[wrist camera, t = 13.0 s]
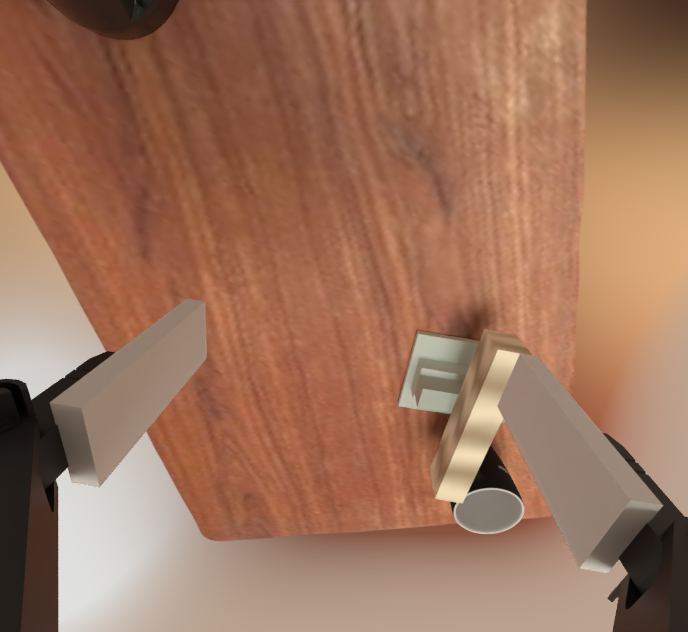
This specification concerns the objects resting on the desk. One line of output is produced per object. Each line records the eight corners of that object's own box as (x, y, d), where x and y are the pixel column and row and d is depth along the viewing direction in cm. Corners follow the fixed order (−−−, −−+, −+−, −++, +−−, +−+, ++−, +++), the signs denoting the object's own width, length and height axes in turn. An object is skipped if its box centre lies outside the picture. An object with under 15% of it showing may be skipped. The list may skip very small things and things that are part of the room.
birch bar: (484, 328, 38) (498, 349, 33) (515, 334, 38) (533, 356, 33) (429, 468, 47) (434, 498, 43) (454, 473, 47) (462, 503, 43)
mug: (504, 464, 54) (531, 527, 45) (448, 477, 56) (463, 539, 47) (485, 408, 50) (511, 464, 41) (426, 423, 52) (437, 481, 43)
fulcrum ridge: (417, 330, 45) (424, 355, 40) (521, 347, 45) (543, 375, 39) (398, 401, 50) (401, 433, 45) (491, 417, 50) (507, 451, 45)
